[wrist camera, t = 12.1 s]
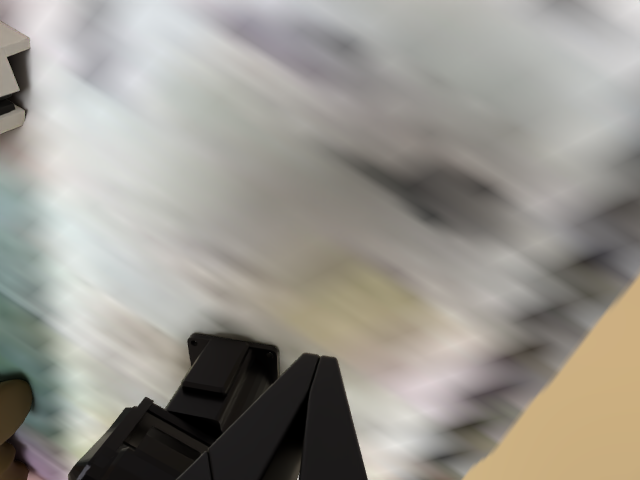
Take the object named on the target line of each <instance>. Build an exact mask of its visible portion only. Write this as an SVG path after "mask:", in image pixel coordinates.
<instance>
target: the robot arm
mask: <svg viewBox="0 0 640 480" xmlns="http://www.w3.org/2000/svg"><path fill="white" fill-rule="evenodd" d="M195 341H196V342H195ZM188 348H189V354H190V360H191V368H190V370H189V371H188V373H187V374H186V376H185V377H184V379H183V380H182V382H181V385H180V387H179V388H178V390H177V391H176V393H175V394H174V396H173V397H172V399H171V400H170V402H169V403H168V405H167V406H166V408H165V409H163V408H161V407H160V406H158V405H156V404H154V403H153V402H154V401H153V400H151V399H149V398H147V397H145V398H144V399H143V401H142V402H141V403H140V404H139V406H138V407H137V406H136V407H135V406H134V407H133V408H125V409H124V410H123V412H122V413H121V414H120V415H119V417H118V418H117V419H116V421H115V422H114V423H113V424H112V426H111V427H110V428H109V429H108V431H107V432H106V433H105V434H104V435H103V436H102V437H101V438H100V439H99V440H98V441H97V442H96V443H95V445H94V446H93V447H92V448H91V449H90V450H89V451H88V452H87V453H86V454H85V455H84V456H83V457H82V458H81V459H80V460H79V461H78V462H77V463H76V464H75V466H74V467H73V468H72V470H71V471H70V473H69V474H68V480H297V478H298V475H299V480H368V479H367V475H366V471H365V467H364V463H363V459H362V455H361V451H360V447H359V443H358V439H357V435H356V431H355V427H354V423H353V420H352V416H351V412H350V408H349V404H348V400H347V396H346V392H345V388H344V384H343V380H342V376H341V372H340V368H339V364H338V360H337V358H335V357H330V356H321V357H320V356H319V355H317V354H311V353H303V354H302V355H301V356H300V357H299V358H298V359H297V360H296V361H295V362H294V363H293V364H292V365H291V366H290V367H289V368H288V369H287V370H286V371H285V372H284V373H283V374H282V375H281V376H280V377H279V351H278V349H277V348H276V347H274V346H270V345H264V344H257V343H251V342H245V341H238V340H232V339H226V338H219V337H213V336H207V335H200V334H192V335H191V336H190V338H189V339H188ZM270 353H272V354H270ZM299 472H300V473H299Z"/></svg>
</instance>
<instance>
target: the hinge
mask: <svg viewBox="0 0 640 480" xmlns="http://www.w3.org/2000/svg"><path fill="white" fill-rule="evenodd" d="M27 49H30V39H29V38H28V37H26V36H25V35H23V34H21V33H20V32H18V31H16V30H15V29H13V28H11V27H10V26H8V25H6V24H4V23H3V22H1V21H0V134H2V133H4V132H7V131H9V130H12V129H15V128H17V127H20V126H22V125H23V123H24V121H25V110H23V109H21V108H20V107H18V106H16V105H15V104H14V103H12V102H11V101H9V100H7V99H6V98H9V97H12V94H11V93H14V92H17V91H20V89H19V87H18V84H17V82H16V79H15V77H14V74H13V72H12V69H11V67H10V64H9V62H8V59H7V57H8V56H11V55H14V54H16V53H19V52H22V51H24V50H27Z"/></svg>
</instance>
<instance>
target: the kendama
mask: <svg viewBox="0 0 640 480" xmlns="http://www.w3.org/2000/svg"><path fill="white" fill-rule="evenodd" d="M32 400H33V397H32V391H31V388H30V386H29V384H28V383H27V382H26V381H23V380H19V379H13V380H8V381H4V382H0V480H27V477H28V473H29V470H28V468H27V466H26V465H25V464H24V463H22V462H20V461H18V460H15V459H14V458H15V453H16V450H15V448H14V446H13V445H12V444H10V443H8V442H6V440H7V439H8V438H10V437H11V436H12V435H13V434H14V433H15V432H16V430H17V429H18V428H19V427H20V425H21V424H22V423H23V422H24V420H25V418H26V416H27V414H28V413H29V411H30V408H31V404H32Z"/></svg>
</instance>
